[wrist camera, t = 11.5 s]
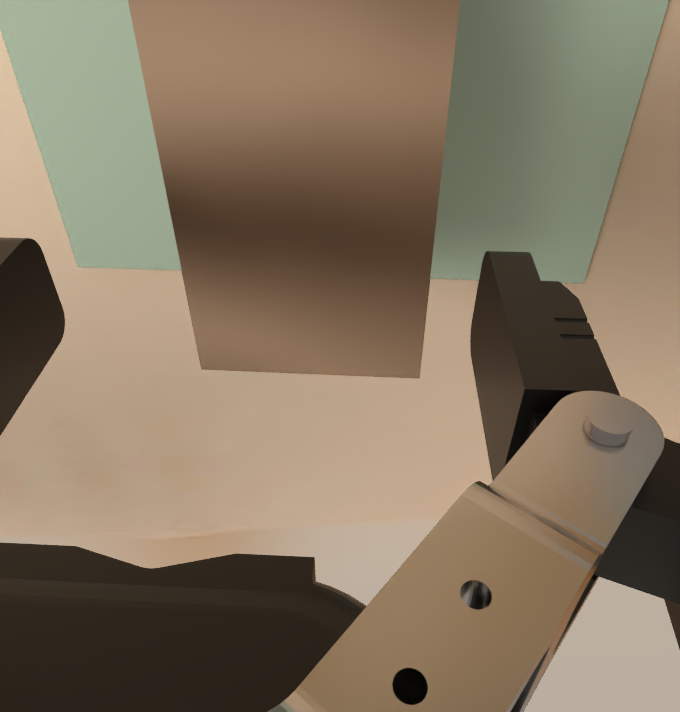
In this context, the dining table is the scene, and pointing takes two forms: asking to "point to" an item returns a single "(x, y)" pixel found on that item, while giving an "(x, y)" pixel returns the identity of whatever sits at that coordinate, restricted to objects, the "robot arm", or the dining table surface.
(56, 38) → the mat
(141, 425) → the dining table surface
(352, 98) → the stool
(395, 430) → the dining table surface
